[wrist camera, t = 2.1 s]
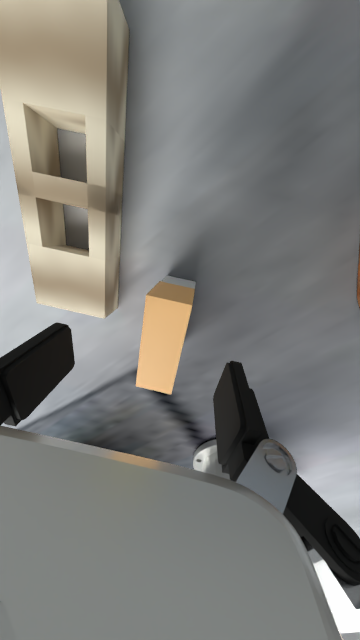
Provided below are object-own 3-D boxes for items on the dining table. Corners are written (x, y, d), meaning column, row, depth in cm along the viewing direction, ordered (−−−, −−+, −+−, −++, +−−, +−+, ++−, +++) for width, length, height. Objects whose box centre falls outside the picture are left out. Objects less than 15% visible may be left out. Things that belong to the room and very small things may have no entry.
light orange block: (167, 273, 18) (146, 294, 11) (196, 279, 18) (192, 305, 11) (156, 339, 22) (135, 386, 15) (181, 345, 21) (171, 394, 15)
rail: (27, 11, 12) (-25, -56, 9) (129, 30, 12) (107, -32, 9) (58, 294, 21) (36, 303, 18) (117, 307, 20) (104, 318, 18)
